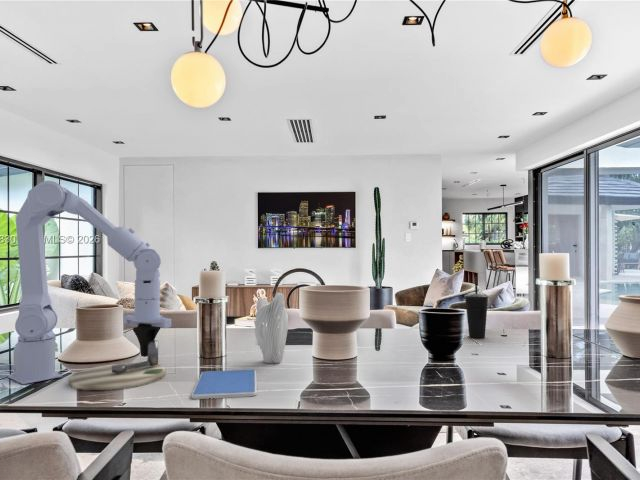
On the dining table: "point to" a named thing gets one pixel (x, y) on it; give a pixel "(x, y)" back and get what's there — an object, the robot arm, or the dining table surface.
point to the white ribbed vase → (271, 328)
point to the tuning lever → (151, 361)
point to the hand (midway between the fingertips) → (146, 355)
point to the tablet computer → (225, 384)
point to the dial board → (115, 377)
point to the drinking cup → (476, 312)
